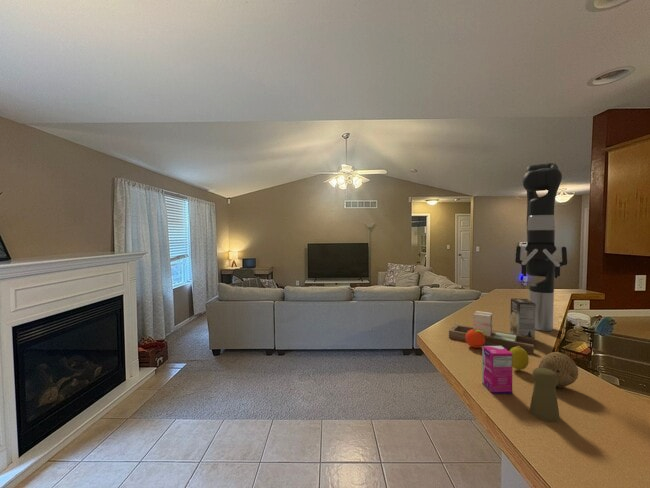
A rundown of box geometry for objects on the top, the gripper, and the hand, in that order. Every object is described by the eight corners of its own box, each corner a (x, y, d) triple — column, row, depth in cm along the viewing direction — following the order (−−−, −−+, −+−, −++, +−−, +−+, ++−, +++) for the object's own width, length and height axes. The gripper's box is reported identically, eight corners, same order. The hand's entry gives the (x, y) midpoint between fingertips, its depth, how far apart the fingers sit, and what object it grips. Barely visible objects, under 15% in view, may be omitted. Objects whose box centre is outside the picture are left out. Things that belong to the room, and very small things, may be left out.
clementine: (490, 347, 117) (490, 329, 117) (485, 353, 112) (485, 333, 112) (468, 342, 123) (468, 325, 122) (462, 347, 117) (462, 329, 117)
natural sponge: (580, 399, 81) (581, 362, 80) (539, 390, 85) (540, 355, 85) (575, 384, 88) (576, 351, 88) (537, 377, 93) (538, 345, 93)
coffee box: (509, 334, 132) (509, 297, 132) (525, 335, 131) (526, 298, 130) (518, 341, 123) (518, 302, 123) (535, 342, 122) (536, 303, 122)
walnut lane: (455, 331, 137) (455, 324, 137) (534, 345, 120) (534, 337, 120) (448, 337, 128) (448, 330, 128) (533, 354, 111) (533, 345, 111)
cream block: (476, 329, 130) (476, 310, 129) (492, 332, 126) (492, 313, 126) (473, 333, 125) (473, 314, 125) (489, 336, 121) (490, 316, 121)
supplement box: (481, 383, 89) (481, 345, 89) (501, 384, 89) (502, 345, 89) (491, 394, 83) (492, 353, 83) (513, 394, 83) (514, 353, 83)
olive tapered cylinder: (523, 407, 77) (524, 365, 76) (545, 406, 77) (546, 364, 77) (542, 422, 71) (543, 376, 70) (566, 421, 71) (567, 375, 71)
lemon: (525, 368, 99) (526, 344, 99) (530, 375, 94) (531, 350, 94) (506, 365, 101) (506, 342, 101) (510, 373, 96) (510, 348, 96)
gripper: (567, 228, 101) (566, 277, 102) (517, 229, 110) (516, 274, 111) (568, 228, 95) (567, 280, 96) (515, 229, 104) (514, 276, 104)
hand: (540, 276), depth 103 cm, fingers open, 8 cm apart
